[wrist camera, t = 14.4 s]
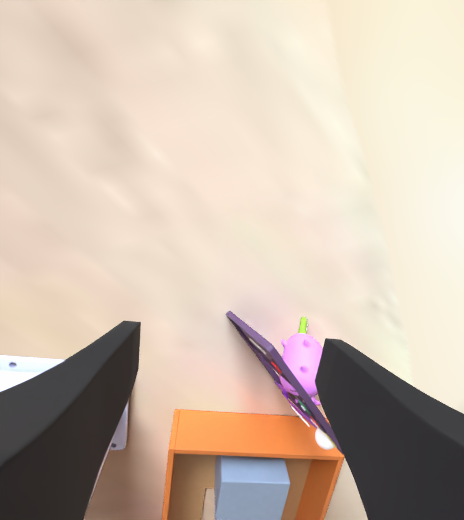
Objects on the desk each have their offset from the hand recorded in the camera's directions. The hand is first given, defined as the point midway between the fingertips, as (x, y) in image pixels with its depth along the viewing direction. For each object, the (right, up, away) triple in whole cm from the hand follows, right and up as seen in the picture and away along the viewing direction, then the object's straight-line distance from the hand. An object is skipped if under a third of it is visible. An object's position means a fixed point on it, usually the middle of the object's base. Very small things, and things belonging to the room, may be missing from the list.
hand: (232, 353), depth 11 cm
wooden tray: (0, -18, +16) cm, 24 cm away
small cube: (+1, -13, +14) cm, 19 cm away
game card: (+4, -2, +11) cm, 12 cm away
